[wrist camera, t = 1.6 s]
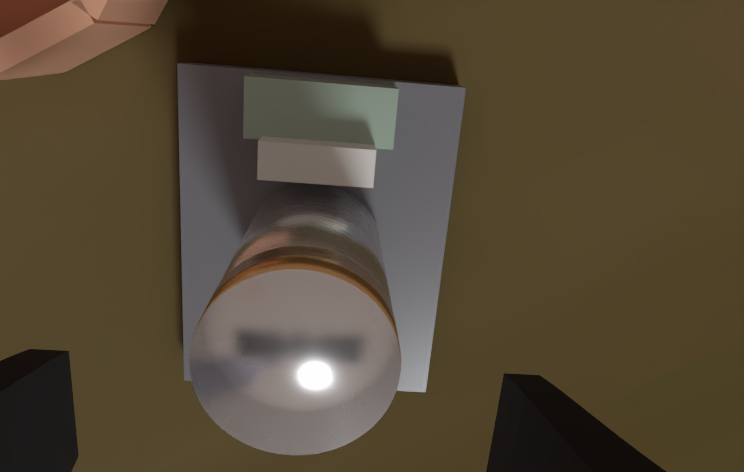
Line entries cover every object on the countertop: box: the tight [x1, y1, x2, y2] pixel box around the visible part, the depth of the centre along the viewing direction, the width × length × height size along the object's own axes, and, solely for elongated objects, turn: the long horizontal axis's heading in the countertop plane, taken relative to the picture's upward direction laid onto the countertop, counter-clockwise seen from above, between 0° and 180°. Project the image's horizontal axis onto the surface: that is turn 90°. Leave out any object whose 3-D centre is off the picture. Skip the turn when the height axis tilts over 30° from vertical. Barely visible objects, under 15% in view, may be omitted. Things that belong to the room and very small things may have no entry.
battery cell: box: [189, 183, 401, 455], centre depth 14 cm, size 4×4×7 cm
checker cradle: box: [177, 62, 466, 392], centre depth 17 cm, size 8×10×3 cm
